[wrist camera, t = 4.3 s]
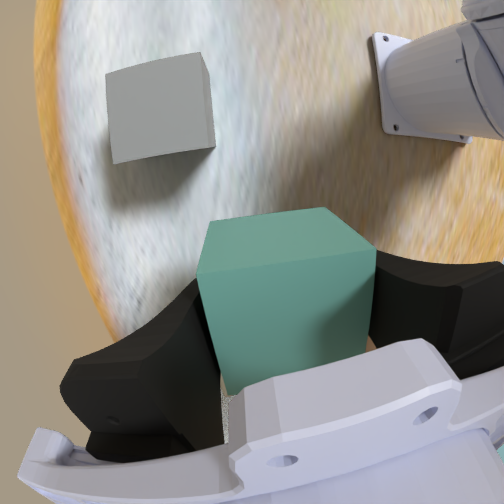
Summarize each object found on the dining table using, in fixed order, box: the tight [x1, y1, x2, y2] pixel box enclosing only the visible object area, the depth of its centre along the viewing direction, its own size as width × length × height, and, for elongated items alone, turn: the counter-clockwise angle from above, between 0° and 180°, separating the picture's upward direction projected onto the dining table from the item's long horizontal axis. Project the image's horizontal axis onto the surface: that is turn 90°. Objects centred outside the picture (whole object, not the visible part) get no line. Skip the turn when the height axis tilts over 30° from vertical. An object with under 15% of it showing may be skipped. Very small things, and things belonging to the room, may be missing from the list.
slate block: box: [105, 52, 216, 165], centre depth 14 cm, size 5×5×5 cm
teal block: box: [196, 207, 377, 395], centre depth 11 cm, size 5×5×5 cm
